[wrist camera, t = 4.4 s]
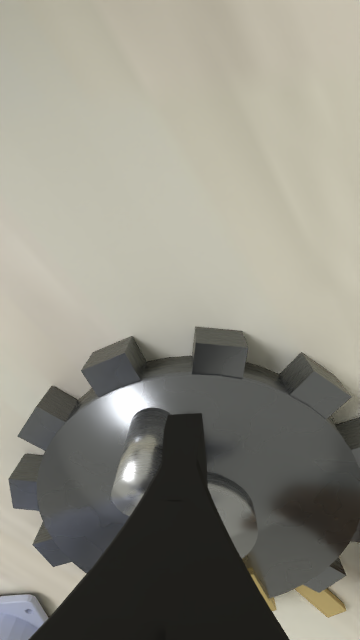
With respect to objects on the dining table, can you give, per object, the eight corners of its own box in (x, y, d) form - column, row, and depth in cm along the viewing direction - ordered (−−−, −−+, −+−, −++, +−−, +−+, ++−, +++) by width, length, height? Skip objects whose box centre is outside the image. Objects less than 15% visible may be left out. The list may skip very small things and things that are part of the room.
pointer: (344, 604, 18) (346, 610, 18) (325, 611, 18) (327, 617, 18) (309, 573, 17) (311, 579, 17) (291, 581, 17) (292, 587, 17)
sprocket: (454, 459, 14) (568, 574, 10) (225, 621, 19) (234, 740, 15) (144, 241, 11) (113, 270, 7) (-26, 505, 16) (-102, 614, 12)
